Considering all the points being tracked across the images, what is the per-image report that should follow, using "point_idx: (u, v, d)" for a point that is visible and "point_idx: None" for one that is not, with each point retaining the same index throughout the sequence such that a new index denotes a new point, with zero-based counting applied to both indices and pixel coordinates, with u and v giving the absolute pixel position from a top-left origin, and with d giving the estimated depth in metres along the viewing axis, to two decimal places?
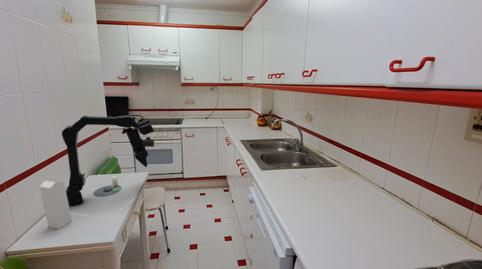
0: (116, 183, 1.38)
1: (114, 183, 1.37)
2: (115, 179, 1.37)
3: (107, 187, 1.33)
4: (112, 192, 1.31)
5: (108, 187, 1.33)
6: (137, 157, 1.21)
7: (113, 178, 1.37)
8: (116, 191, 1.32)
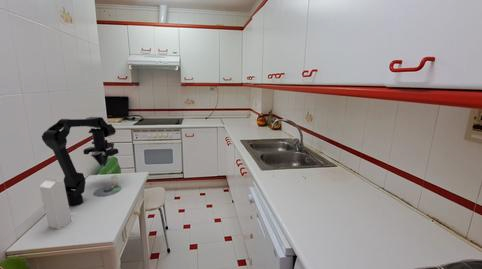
0: (116, 183, 1.38)
1: (114, 183, 1.37)
2: (115, 179, 1.37)
3: (107, 187, 1.33)
4: (112, 192, 1.31)
5: (108, 187, 1.33)
6: (112, 154, 1.32)
7: (113, 178, 1.37)
8: (116, 191, 1.32)
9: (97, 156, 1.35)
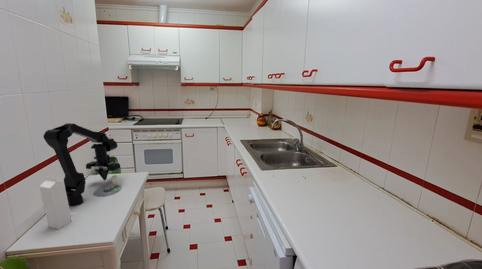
0: (116, 183, 1.38)
1: (114, 183, 1.37)
2: (115, 179, 1.37)
3: (107, 187, 1.33)
4: (112, 192, 1.31)
5: (108, 187, 1.33)
6: (114, 169, 1.34)
7: (113, 178, 1.37)
8: (116, 191, 1.32)
9: None
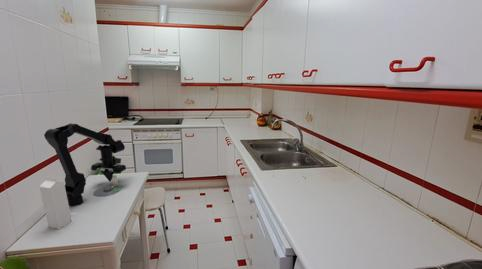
0: (116, 183, 1.38)
1: (114, 183, 1.37)
2: (115, 179, 1.37)
3: (107, 187, 1.33)
4: (112, 192, 1.31)
5: (108, 187, 1.33)
6: (120, 171, 1.33)
7: (113, 178, 1.37)
8: (116, 191, 1.32)
9: None
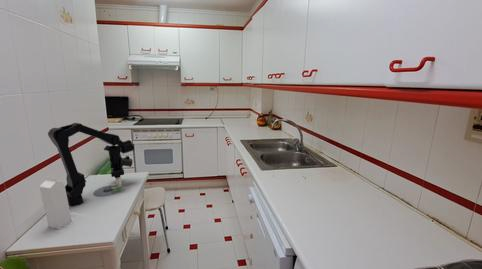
0: (118, 185, 1.35)
1: (117, 185, 1.35)
2: (117, 181, 1.35)
3: (107, 187, 1.33)
4: (112, 192, 1.31)
5: (108, 187, 1.33)
6: (113, 175, 1.28)
7: (116, 180, 1.35)
8: (116, 191, 1.32)
9: None
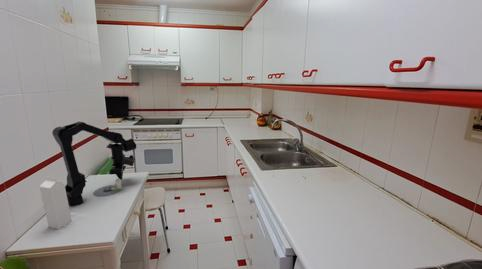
0: (117, 187, 1.33)
1: (116, 186, 1.33)
2: (116, 183, 1.32)
3: (107, 187, 1.33)
4: (112, 192, 1.31)
5: (107, 187, 1.33)
6: (111, 173, 1.28)
7: None
8: (116, 191, 1.32)
9: None
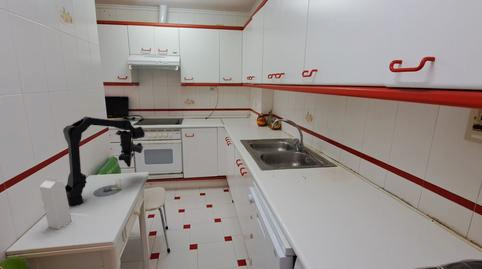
0: (117, 187, 1.33)
1: (116, 186, 1.33)
2: (116, 183, 1.32)
3: (107, 187, 1.33)
4: (112, 192, 1.31)
5: (107, 187, 1.33)
6: (120, 159, 1.30)
7: None
8: (116, 191, 1.32)
9: None
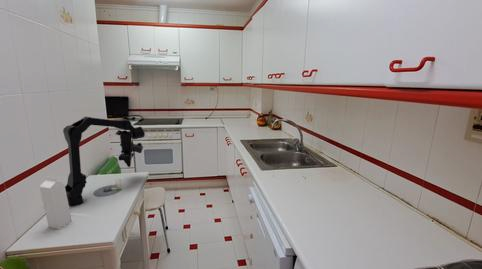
0: (117, 187, 1.33)
1: (116, 186, 1.33)
2: (116, 183, 1.32)
3: (107, 187, 1.33)
4: (112, 192, 1.31)
5: (107, 187, 1.33)
6: (120, 159, 1.30)
7: None
8: (116, 191, 1.32)
9: None
